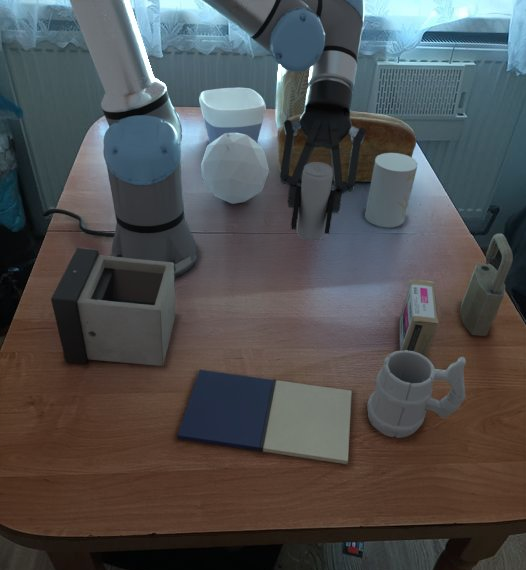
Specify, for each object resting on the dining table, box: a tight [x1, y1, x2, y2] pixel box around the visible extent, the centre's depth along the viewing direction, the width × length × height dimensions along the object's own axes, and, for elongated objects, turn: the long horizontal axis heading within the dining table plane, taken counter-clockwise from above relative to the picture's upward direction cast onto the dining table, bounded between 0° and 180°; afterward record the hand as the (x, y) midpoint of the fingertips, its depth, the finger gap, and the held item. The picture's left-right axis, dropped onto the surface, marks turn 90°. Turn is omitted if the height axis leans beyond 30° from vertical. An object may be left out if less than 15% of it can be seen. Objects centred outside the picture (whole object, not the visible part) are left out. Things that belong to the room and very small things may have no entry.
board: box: [177, 369, 353, 465], centre depth 73 cm, size 22×12×1 cm, turn 81°
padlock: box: [459, 233, 514, 337], centre depth 84 cm, size 4×8×15 cm, turn 176°
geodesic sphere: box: [200, 132, 270, 205], centre depth 111 cm, size 15×14×14 cm
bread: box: [277, 110, 417, 183], centre depth 122 cm, size 12×31×14 cm, turn 91°
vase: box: [274, 63, 311, 130], centre depth 132 cm, size 17×17×27 cm
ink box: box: [399, 279, 440, 358], centre depth 82 cm, size 10×4×8 cm, turn 170°
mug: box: [366, 350, 467, 439], centre depth 70 cm, size 8×12×12 cm, turn 85°
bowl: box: [198, 87, 267, 144], centre depth 132 cm, size 15×15×11 cm
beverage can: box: [296, 162, 333, 242], centre depth 89 cm, size 5×5×12 cm
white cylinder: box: [364, 153, 419, 228], centre depth 109 cm, size 8×8×12 cm
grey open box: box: [50, 247, 176, 367], centre depth 79 cm, size 12×14×12 cm
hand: (310, 229), depth 88 cm, fingers closed on beverage can, 5 cm apart
